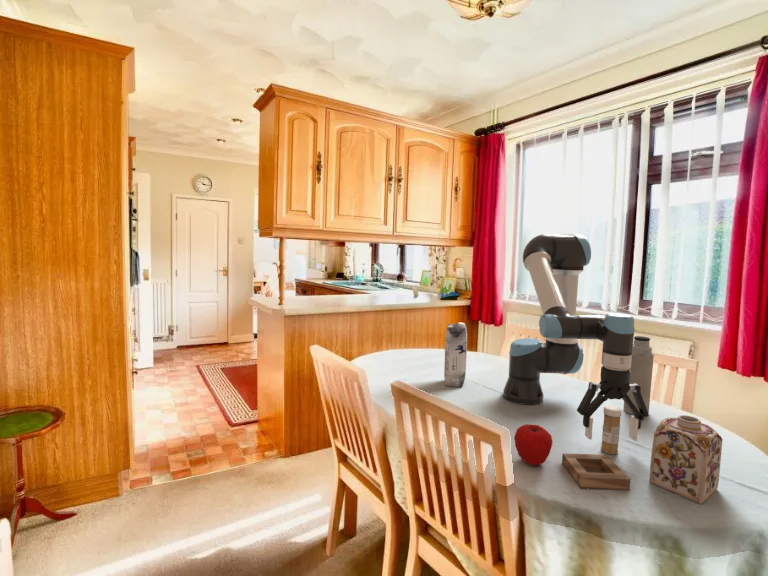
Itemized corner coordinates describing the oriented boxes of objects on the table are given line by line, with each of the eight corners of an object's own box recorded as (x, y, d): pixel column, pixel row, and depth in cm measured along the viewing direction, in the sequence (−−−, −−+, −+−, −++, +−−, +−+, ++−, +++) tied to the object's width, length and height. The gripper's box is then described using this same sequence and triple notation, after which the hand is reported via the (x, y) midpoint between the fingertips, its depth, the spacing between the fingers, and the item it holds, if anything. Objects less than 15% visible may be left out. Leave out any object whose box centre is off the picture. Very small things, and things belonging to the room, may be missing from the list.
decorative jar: (702, 506, 98) (709, 433, 96) (647, 482, 107) (653, 415, 105) (719, 489, 105) (726, 420, 103) (666, 468, 114) (672, 405, 112)
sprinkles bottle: (597, 447, 125) (600, 404, 124) (611, 447, 125) (615, 404, 124) (607, 455, 120) (610, 410, 119) (621, 454, 121) (625, 410, 119)
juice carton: (443, 386, 177) (445, 324, 174) (445, 378, 187) (447, 319, 184) (464, 388, 175) (466, 325, 172) (465, 380, 185) (467, 320, 182)
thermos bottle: (620, 406, 158) (626, 334, 155) (644, 408, 156) (650, 335, 153) (626, 414, 150) (633, 338, 147) (651, 417, 148) (658, 340, 145)
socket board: (561, 463, 116) (562, 453, 115) (605, 465, 115) (606, 454, 115) (580, 488, 104) (581, 477, 103) (629, 490, 103) (630, 479, 103)
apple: (507, 462, 116) (509, 424, 115) (523, 450, 123) (525, 415, 122) (541, 476, 109) (543, 436, 108) (556, 463, 116) (559, 426, 115)
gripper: (578, 370, 117) (573, 442, 119) (667, 372, 116) (660, 445, 118) (567, 362, 124) (563, 431, 127) (651, 364, 124) (645, 433, 126)
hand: (610, 438), depth 122 cm, fingers open, 12 cm apart
